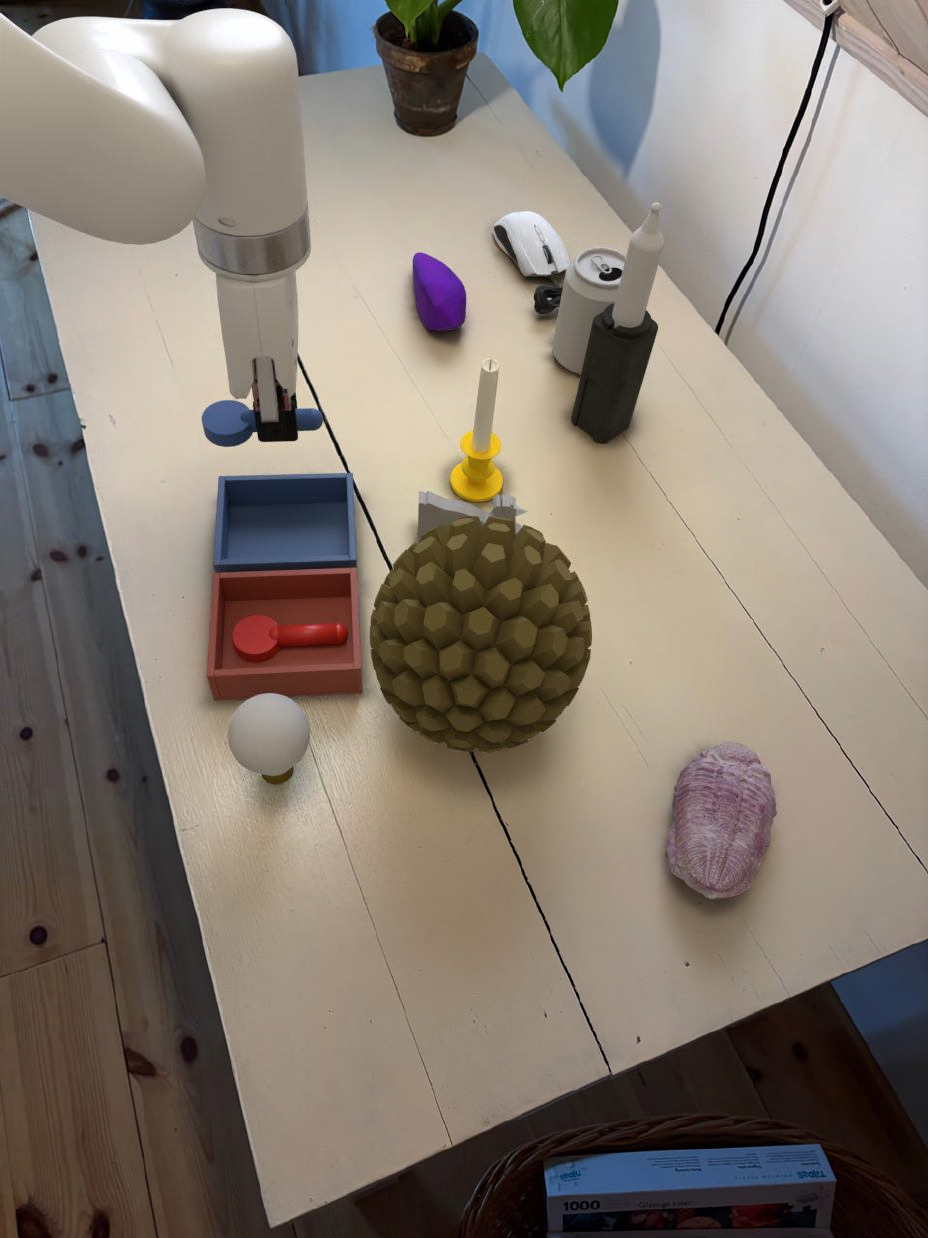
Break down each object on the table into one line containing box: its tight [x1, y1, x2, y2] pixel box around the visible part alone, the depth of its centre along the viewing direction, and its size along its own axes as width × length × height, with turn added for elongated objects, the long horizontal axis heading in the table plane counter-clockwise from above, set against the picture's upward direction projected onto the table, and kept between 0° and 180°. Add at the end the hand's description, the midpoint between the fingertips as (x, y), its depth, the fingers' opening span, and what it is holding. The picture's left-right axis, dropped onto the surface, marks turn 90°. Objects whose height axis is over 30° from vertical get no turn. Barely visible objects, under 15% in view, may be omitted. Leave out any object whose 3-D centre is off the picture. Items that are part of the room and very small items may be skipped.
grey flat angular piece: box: [417, 490, 529, 543], centre depth 87 cm, size 6×1×10 cm
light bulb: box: [227, 693, 311, 786], centre depth 71 cm, size 6×6×10 cm
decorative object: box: [369, 516, 593, 754], centre depth 71 cm, size 17×17×20 cm
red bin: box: [206, 567, 363, 701], centre depth 80 cm, size 12×10×4 cm
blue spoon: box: [201, 399, 324, 448], centre depth 77 cm, size 10×4×2 cm, turn 96°
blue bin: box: [212, 472, 358, 573], centre depth 86 cm, size 12×10×4 cm
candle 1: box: [449, 357, 504, 503], centre depth 87 cm, size 5×5×16 cm
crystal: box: [412, 251, 467, 332], centre depth 106 cm, size 5×5×15 cm
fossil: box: [665, 741, 778, 901], centre depth 73 cm, size 8×14×5 cm, turn 159°
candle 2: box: [570, 201, 665, 444], centre depth 89 cm, size 5×5×25 cm
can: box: [551, 246, 627, 376], centre depth 100 cm, size 8×8×12 cm
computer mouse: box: [492, 210, 572, 315], centre depth 111 cm, size 10×18×4 cm, turn 26°
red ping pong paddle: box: [232, 615, 348, 662], centre depth 80 cm, size 10×4×2 cm, turn 96°
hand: (278, 426), depth 78 cm, fingers closed on blue spoon, 1 cm apart
